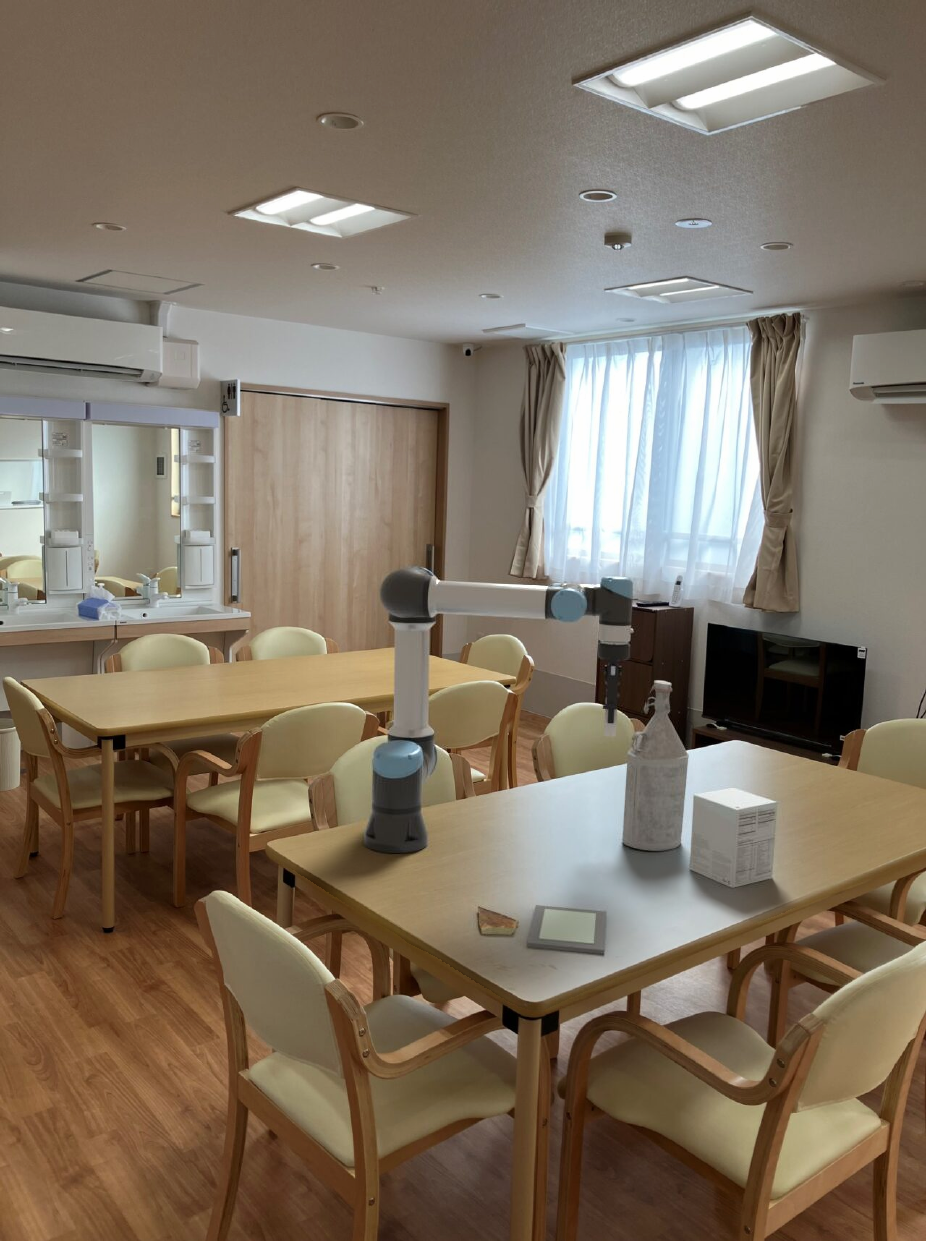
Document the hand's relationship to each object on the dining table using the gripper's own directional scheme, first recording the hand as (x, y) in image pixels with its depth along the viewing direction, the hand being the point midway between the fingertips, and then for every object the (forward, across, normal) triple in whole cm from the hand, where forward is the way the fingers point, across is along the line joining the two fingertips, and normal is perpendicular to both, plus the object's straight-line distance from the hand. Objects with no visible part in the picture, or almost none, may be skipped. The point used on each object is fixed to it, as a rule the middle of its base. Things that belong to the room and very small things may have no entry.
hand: (610, 730), depth 241 cm
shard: (+28, -54, +21) cm, 65 cm away
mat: (+28, -54, +6) cm, 61 cm away
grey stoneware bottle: (+28, +2, -11) cm, 30 cm away
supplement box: (+28, -15, -28) cm, 42 cm away
